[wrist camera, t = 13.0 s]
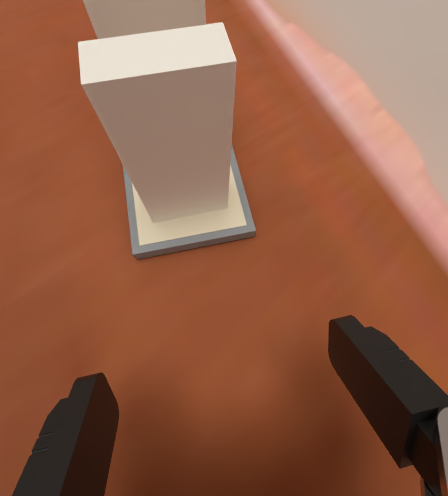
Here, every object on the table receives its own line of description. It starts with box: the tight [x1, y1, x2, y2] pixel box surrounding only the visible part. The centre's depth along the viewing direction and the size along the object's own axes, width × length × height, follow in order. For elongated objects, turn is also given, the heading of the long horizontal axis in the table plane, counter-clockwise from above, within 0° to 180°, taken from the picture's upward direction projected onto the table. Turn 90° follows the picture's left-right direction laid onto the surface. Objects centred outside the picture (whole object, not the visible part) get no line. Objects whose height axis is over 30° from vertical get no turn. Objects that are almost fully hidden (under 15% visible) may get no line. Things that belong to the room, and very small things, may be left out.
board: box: [123, 145, 256, 259], centre depth 23 cm, size 28×8×1 cm, turn 12°
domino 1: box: [83, 0, 206, 39], centre depth 16 cm, size 2×5×10 cm, turn 102°
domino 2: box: [78, 22, 237, 223], centre depth 14 cm, size 2×5×10 cm, turn 103°
